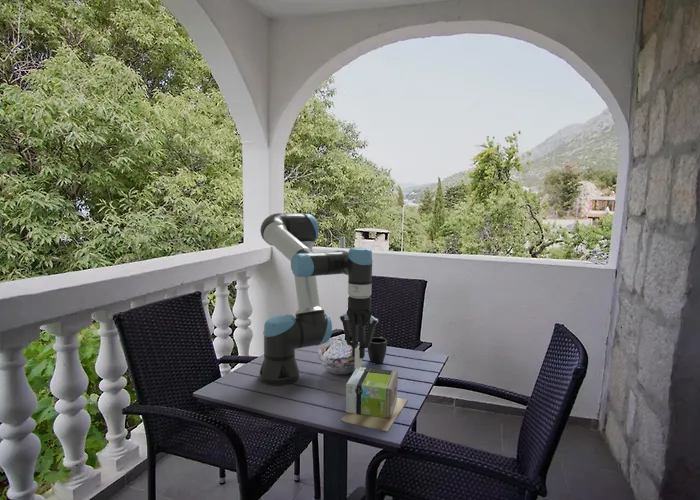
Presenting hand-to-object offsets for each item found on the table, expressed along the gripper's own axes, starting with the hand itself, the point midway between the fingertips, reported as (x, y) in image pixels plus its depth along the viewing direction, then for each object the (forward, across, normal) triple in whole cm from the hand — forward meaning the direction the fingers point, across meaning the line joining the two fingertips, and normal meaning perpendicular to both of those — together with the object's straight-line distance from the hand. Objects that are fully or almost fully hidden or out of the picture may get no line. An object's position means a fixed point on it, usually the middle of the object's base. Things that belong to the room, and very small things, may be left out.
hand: (358, 367), depth 136 cm
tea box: (+8, -3, +1) cm, 9 cm away
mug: (+14, -8, +43) cm, 46 cm away
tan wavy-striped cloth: (+13, +6, 0) cm, 15 cm away
